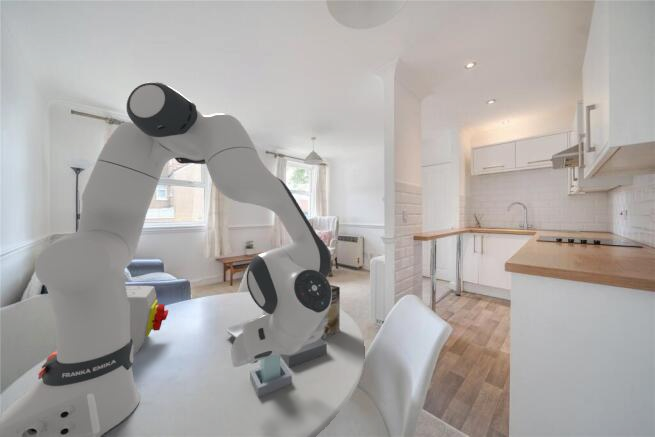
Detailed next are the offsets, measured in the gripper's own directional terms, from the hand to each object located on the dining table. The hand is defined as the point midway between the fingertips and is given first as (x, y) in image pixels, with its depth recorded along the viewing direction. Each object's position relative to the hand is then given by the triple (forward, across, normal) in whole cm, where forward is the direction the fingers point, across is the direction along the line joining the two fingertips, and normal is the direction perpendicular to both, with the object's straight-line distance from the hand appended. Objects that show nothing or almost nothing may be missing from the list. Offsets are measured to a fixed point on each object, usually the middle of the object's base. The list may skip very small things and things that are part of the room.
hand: (273, 353), depth 57 cm
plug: (+7, 0, +4) cm, 8 cm away
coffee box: (+19, -26, -6) cm, 33 cm away
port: (+13, -12, -1) cm, 18 cm away
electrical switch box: (+37, +31, -25) cm, 55 cm away
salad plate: (+26, -7, -12) cm, 29 cm away
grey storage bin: (+8, 0, +5) cm, 9 cm away
